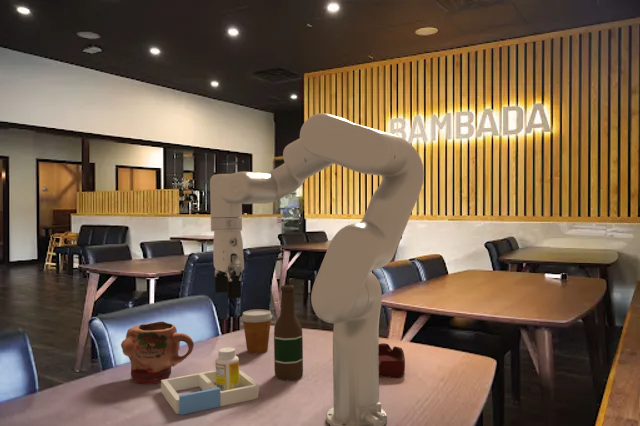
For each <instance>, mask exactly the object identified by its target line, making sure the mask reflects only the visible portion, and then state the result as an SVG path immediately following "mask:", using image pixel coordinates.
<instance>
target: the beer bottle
mask: <svg viewBox="0 0 640 426" xmlns="http://www.w3.org/2000/svg"><path fill="white" fill-rule="evenodd" d="M280 290H281V296H280V297H281V300H280V301H281V303H280V314H279V316H278V318H277V320H276V322H275V324H274V328H273V349H274V350H273V351H274V352H273V353H274V356H273V362H274V367H273V368H274V375H275V378H276V379H277V380H281V381H284V382H286V381H287V382H288V381H297V380H298V379H301V378H303V376H304V375H303V372H304V356H303V355H304V353H303V351H304V349H303V348H304V347H303V346H304V345H303V342H304V341H303V337H304V336H303V327H302V324H301V322H300V321H299V319H298V317H297V315H296V310H295V309H296V307H295V296H294V294H295V293H294V291H295V286H294V285H292V284H283V285H281V286H280Z"/></svg>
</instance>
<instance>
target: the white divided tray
mask: <svg viewBox="0 0 640 426" xmlns="http://www.w3.org/2000/svg"><path fill="white" fill-rule="evenodd" d="M194 388H199V389H201V390H198V391H195V392H189V393H185V394H178V392H179V391H184V390H188V389H194ZM177 391H178V392H177ZM160 392H161V394H162V396H163V397H164V398H165V400H166V401H167V403H168V404H169V405H170V407H171V408H172V410H173V411H174V412H175V414H176V415H179V416H182V415H186V414H192V413H196V412H201V411H202V412H203V411H206V410H210V409H215V408H220V407H224V406H225V407H226V406H229V405H233V404H238V403H243V402H247V401H252V400H257V399H258V397H259V383H258V382H257V381H255V380H254V379H253V378H252V377H250V376H249V375H248V374H247V373H245V372H243V370H241V369H240V368H239V388H235V389H230V390H225V391H221V390H220V388H219V387H217V386H216V369H215V370H210V371H204V372H199V373H193V374H187V375H182V376H176V377H171V378H170V377H169V378H167V379H164V380H161V382H160Z"/></svg>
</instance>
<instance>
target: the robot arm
mask: <svg viewBox="0 0 640 426" xmlns="http://www.w3.org/2000/svg"><path fill="white" fill-rule="evenodd" d="M282 158H283V163H282V164H281V165H279V166H277V167H276V168H274V169H272V170H270V171H268V172H257V171H237V172H233V173H218V174H213V175H212V176H211V177H210V179H209V188H210V189H209V190H210V191H209V193H210V195H209V196H210V198H209V199H210V201H209V203H210V232H213V253H212V254H213V257H212V258H213V268H214V292H215V293H217V294H218V293H226V295H227V296H226V297H227V299H229V300H230V299H231V300H232V299H239V298H240V299H241V297H242V272H243V271H244V270H245V260H244V246H243V245H244V244H243V238H242V237H243V235H242V231H243V205H254V204H263V205H264V204H271V203H275V202H277V201H279V200H281V199H283V198H285V197H286V196H289V195H291V194H292V193H294V192H295V191H297V190H298V189H299V188H300V187H301V186H302V185H303V184H304V183H305V181H306V180H307V179H308V178H310V177H312V176H314V175H316V174H317V173H319V172H322V171H324V170H325V169H327V168H329V167H332V166H333V165H338V166H340V167H343V168H345V169H348V170H351V171H354V172H357V173H360V174H365V175H368V176H369V175H371V176H381V182H380V184H379V185H378V187H377V188H376V189H375V191H374V192H373V194H372V196H371V198H370V199H369V202H368V203H369V204H368V207H367V208H366V210H365V213H364V215H363V217H362V219H361V221H360V222H356V223H351V224H347V225H345V226H344V227H342V228H341V229H339V230H338V231H337V232H336V234H335V235H334V236H333V237H332V239H331V241H330V243H329V245H328V248H327V250H326V253H325V254H324V258H323V260H322V262H321V264H320V268H319V270H318V272H317V275H316V278H315V280H314V283H313V286H312V289H311V297H310V300H311V306H312V310H313V311H314V313H315V315H316V316H317V318H319V319H320V320H321V321H323V322H324V323H328V324H333V331H332V332H333V333H332V334H333V335H332V374H333V375H332V376H333V377H332V378H333V379H332V380H333V382H332V384H333V387H332V388H333V389H332V390H333V406H332V407H330V408H329V410H328V411H327V412H326V415H325V416H326V417H325V419H326V422H327V424H329V425H330V426H385V425H386V424H387V421H388V416H387V413H386V411H385V410H384V409H383V408H382V403H381V402H380V376H379V347H378V346H379V344H380V342H379V341H380V339H379V332H380V331H379V328H380V327H379V326H380V316H381V307H382V298H383V297H382V296H383V295H382V293H383V292H382V287H381V284H380V281H379V279H378V278H377V276H376V275H375V274H374V273H373V272H371V271H374V270H377V269H381V268H383V267H386V265H388V264H390V262H391V261H392V259H393V258H394V256H395V254H396V251H397V249H398V247H399V245H400V242H401V239H402V237H403V235H404V232H405V230H406V227H407V225H408V222H409V220H410V217H411V215H412V213H413V210H414V208H415V206H416V204H417V202H418V199H419V196H420V194H421V192H422V191H421V190H422V188H423V184H424V179H425V178H424V177H425V171H424V164H423V161H422V158H421V156H420V154H419V153H418V151H417V149H416V148H415V147H414V146H413V144H411V143H410V142H409V141H408V140H406V139H405V138H403V137H401V136H398V135H396V134H393V133H389V132H386V131H382V130H379V129H374V128H371V127H367V126H365V125H362V124H357V123H354V122H352V121H349V120H348V119H346V118H343V117H341V116H336V115H334V114H329V113H325V112H323V113H321V112H320V113H316V114H314V115H312V116H310V117H308V118H307V119H306V120H305V121H304V123H303V124H302V126H301V128H300V131H299V138H298V139H296V140H294V141H292V142H291V143H288V144H287V145H286V146H285V147H284V149H283V152H282Z"/></svg>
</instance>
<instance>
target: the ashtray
mask: <svg viewBox="0 0 640 426" xmlns="http://www.w3.org/2000/svg"><path fill="white" fill-rule="evenodd" d="M378 347H379V377H384V378H385V377H386V378H401V377H403V376H404V375H405V371H406V370H405V369H406V358H405V353H404V350H403V348H402V347H400V346H395V345H394V346H393V347H392V348H391V347H390V345H389V344H388V343H385V342H384V343H383V342H382V343H379V346H378Z"/></svg>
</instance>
